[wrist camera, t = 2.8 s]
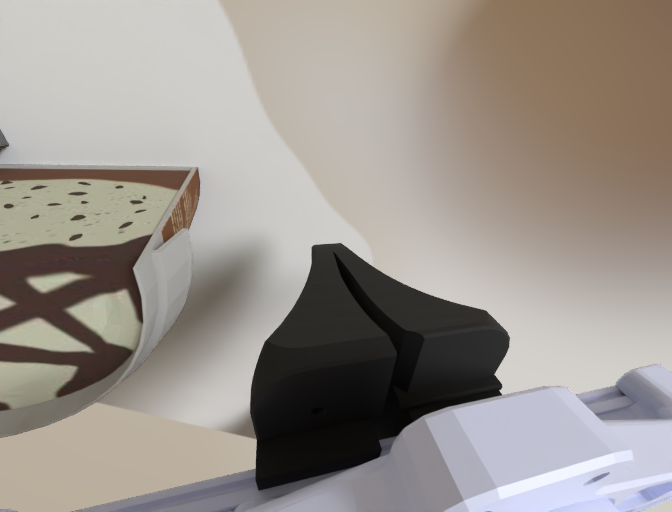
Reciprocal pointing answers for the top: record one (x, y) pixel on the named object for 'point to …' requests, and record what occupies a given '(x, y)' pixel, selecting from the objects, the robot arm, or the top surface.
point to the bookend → (2, 140)
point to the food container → (86, 280)
